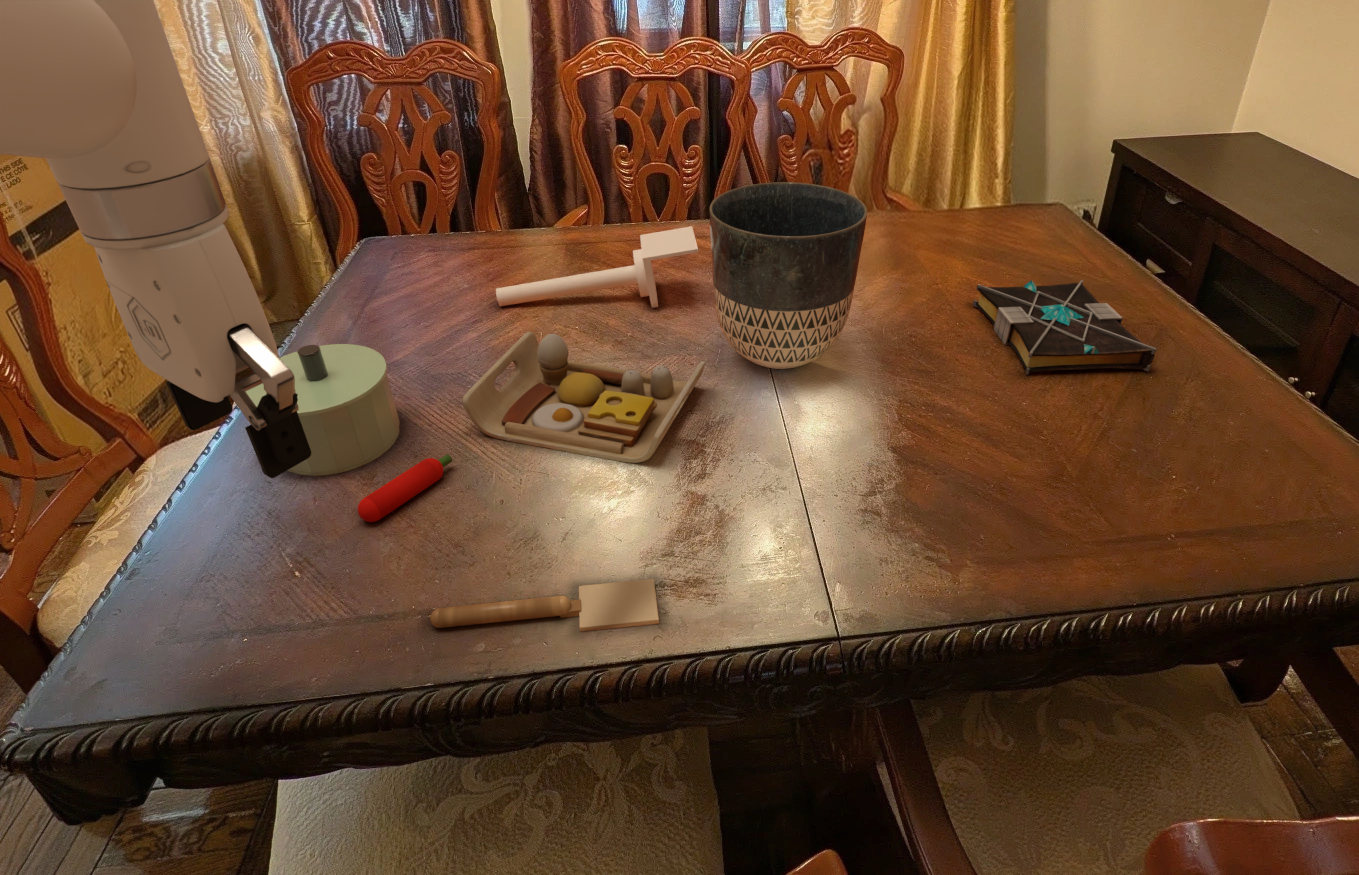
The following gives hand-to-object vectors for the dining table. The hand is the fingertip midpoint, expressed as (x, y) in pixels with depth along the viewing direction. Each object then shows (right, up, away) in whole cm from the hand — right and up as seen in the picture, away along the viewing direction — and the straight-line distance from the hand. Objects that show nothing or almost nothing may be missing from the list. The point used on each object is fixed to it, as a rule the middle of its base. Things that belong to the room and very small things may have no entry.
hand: (248, 442), depth 56 cm
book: (+84, +15, +60) cm, 104 cm away
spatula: (+18, -16, +19) cm, 31 cm away
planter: (+44, +11, +56) cm, 72 cm away
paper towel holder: (+17, +22, +72) cm, 78 cm away
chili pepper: (0, -4, +31) cm, 31 cm away
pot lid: (-12, +7, +37) cm, 40 cm away
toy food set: (+19, +3, +46) cm, 50 cm away
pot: (-12, 0, +42) cm, 44 cm away
